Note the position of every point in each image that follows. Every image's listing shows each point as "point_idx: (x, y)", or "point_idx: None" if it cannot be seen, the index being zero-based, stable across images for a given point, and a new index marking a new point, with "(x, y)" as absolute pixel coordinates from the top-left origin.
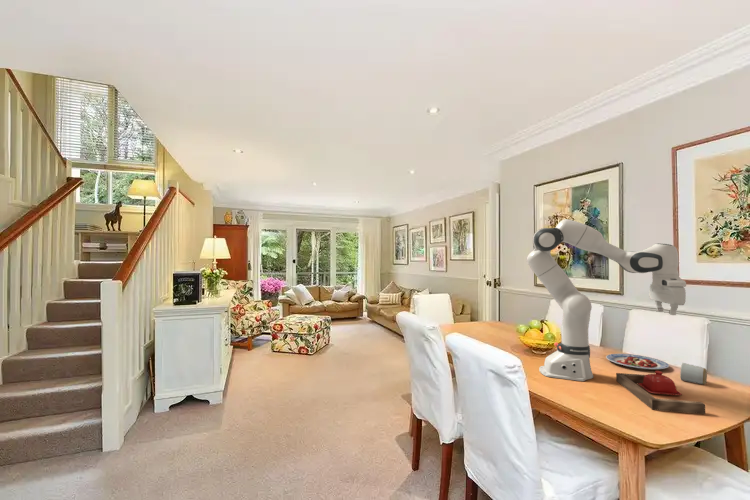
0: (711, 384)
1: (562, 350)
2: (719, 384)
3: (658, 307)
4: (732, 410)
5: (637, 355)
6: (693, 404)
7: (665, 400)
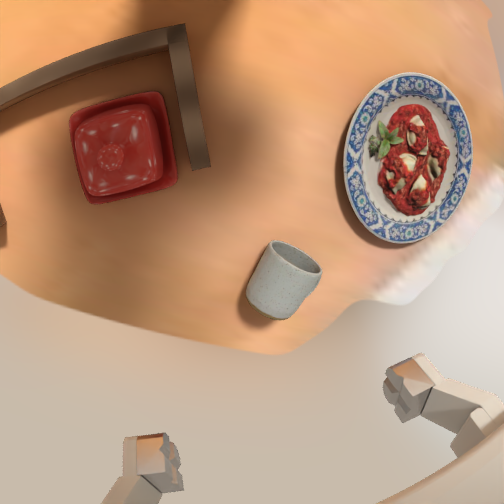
0: None
1: None
2: None
3: (421, 394)
4: (59, 289)
5: (464, 185)
6: None
7: None
